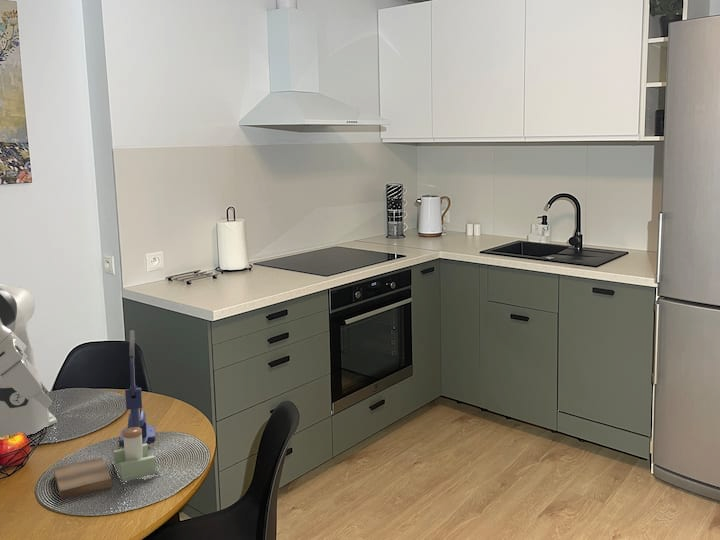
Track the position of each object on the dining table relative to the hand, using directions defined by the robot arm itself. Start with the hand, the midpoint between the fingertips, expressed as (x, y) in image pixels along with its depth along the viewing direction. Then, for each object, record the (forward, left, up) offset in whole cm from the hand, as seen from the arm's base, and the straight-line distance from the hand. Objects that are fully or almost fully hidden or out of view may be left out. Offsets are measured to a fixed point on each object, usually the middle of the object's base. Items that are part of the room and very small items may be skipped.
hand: (48, 400), depth 151 cm
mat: (-3, +18, -23) cm, 29 cm away
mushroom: (-3, +18, -22) cm, 28 cm away
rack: (-3, +18, -23) cm, 29 cm away
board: (-3, +6, -23) cm, 24 cm away
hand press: (-20, +22, -23) cm, 38 cm away
